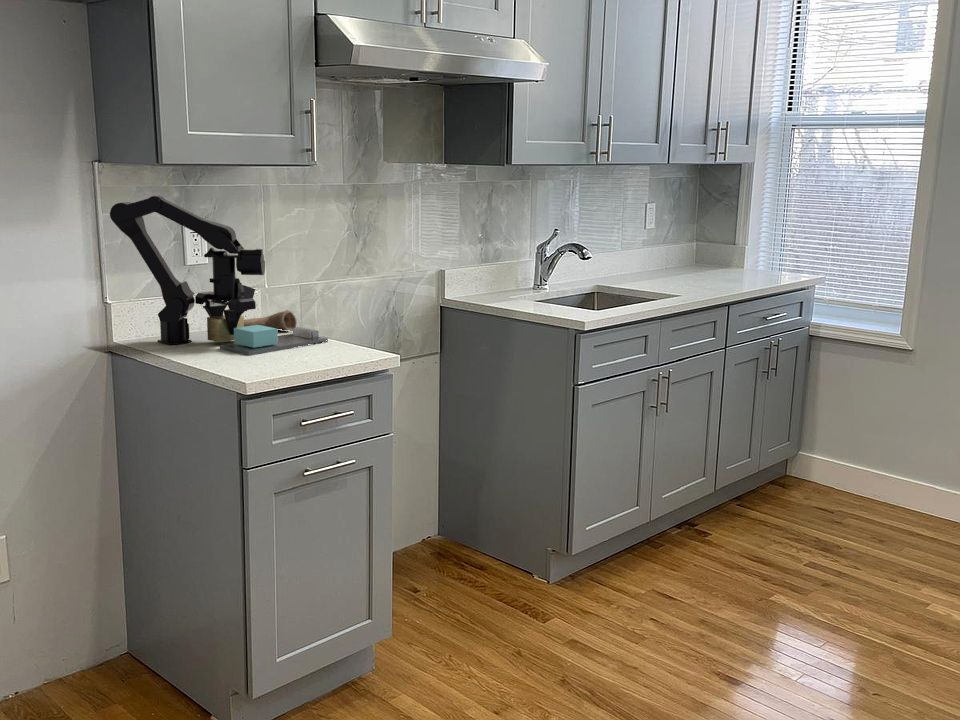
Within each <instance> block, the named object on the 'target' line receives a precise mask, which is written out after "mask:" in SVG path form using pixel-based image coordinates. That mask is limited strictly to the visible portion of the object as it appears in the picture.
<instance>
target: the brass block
mask: <svg viewBox="0 0 960 720" xmlns="http://www.w3.org/2000/svg"><path fill="white" fill-rule="evenodd" d="M244 320H245V316H244V315H241V316H240V319H239V321H238V325H237V328H238V327H244ZM206 327H207V329H206V331H207V332H206V333H207V341H211V342H215V343H225V342H232V341H234V335H230V333H229V330H228V326H227V322H226V319H225V315H224V314H223V315H222V316H214V317H209V316H208V317H206Z"/></svg>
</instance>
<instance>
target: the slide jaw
mask: <svg viewBox="0 0 960 720" xmlns="http://www.w3.org/2000/svg"><path fill="white" fill-rule="evenodd" d="M278 336H279V335H278V331H277V328H272V327H267V326H261V325H252V326H245V327H238V328H234V340H233V343H235V344H239V345H244V346H248V347H253V348H255V347H261V346H267V345H273V344H277V341H278Z"/></svg>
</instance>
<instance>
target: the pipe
mask: <svg viewBox="0 0 960 720" xmlns="http://www.w3.org/2000/svg"><path fill="white" fill-rule="evenodd" d="M297 324H298V323H297V318H296V315H295V314H294V313H293V311H291V310H288V309H287V310H284V311H280V312H277V313H273V314H272V315H268V316H263V317H254V318H249V319H247V318H246V319H244V327H245V326H252V325H261V326H267V327H272V328H277V329H282V330H290V331H293V328H296V327H297Z"/></svg>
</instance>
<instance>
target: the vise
mask: <svg viewBox="0 0 960 720" xmlns="http://www.w3.org/2000/svg"><path fill="white" fill-rule="evenodd" d="M319 332H320V331H319V330H317V329H312V328H307V327H300V326H298V327H297V326H296V328H293V332H292V333H288V334H287V333H286V334H281V335H278V341H277V344H273V345H267V346H261V347H255V348H253V347H248V346H244V345H239V344H235V343H234V342H231V343H225V344H219V350H224V351H227V352H231V353H235V354H236V353H237V354H241V355H246V356H254V355H260V354H266V353H267V354H268V353H271V352H272V353H273V352H277V351H283V350H289V348H290V349H295V348H294V347H296V348H299V347H298V346H302V347H304V346H303V345H307V346H309V345H308V344H313V343H319V342H325V341H326V340H327V342H325V343H328V342H329V338H328V337H325V336H324V337H322V336H319V335H320V334H319ZM319 344H320V343H319ZM313 345H314V344H313Z"/></svg>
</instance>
